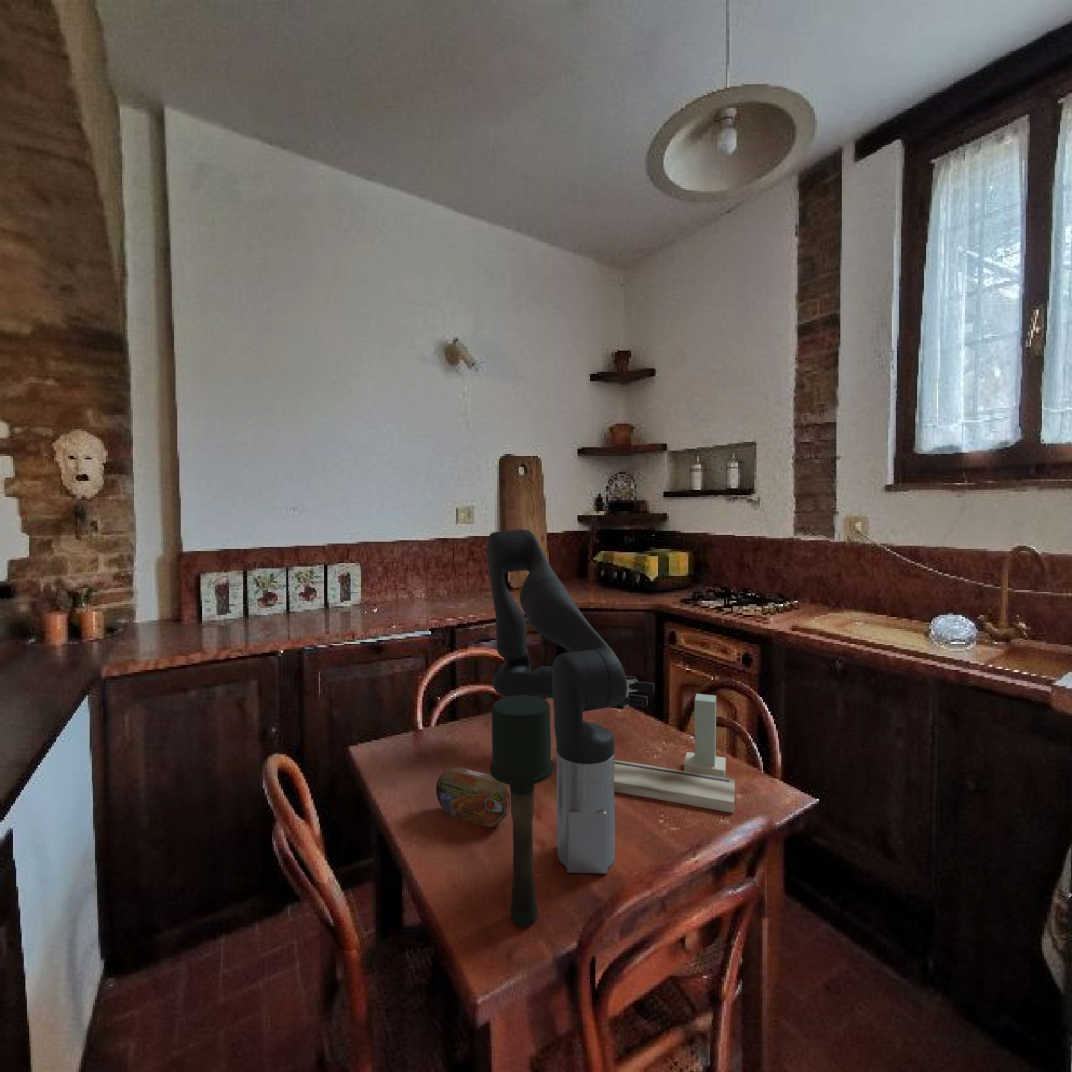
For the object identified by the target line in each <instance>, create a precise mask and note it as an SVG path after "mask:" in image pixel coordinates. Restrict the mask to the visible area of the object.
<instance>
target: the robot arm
mask: <svg viewBox="0 0 1072 1072" xmlns="http://www.w3.org/2000/svg"><path fill="white" fill-rule="evenodd" d="M486 558H487V566H488V567H487V568H488V573H489V574H488V575H489V582H490V588H491V596H492V599H493V606H494V607H493V608H494V613H495V615H494V616H495V624H496V625H495V628H496V629H495V630H496V631H495V632H496V634H495V635H496V650H497V651H496V652H497V653H498V655H499V656H500V657H501V658H502V659H503V665H502V666H501V667H500V668H499V670H498V671H497V672H496V673H495V674H494V677H493V678H492V686H493V687H492V688H493V689H494V691H495V692H496V693H497V694H498V695H499V696H500V697H502V698H505V697H509V696H515V695H529V696H536V697H540V698H545V699H546V698H547V699H552V700H553V701H552V702H553V704H552V705H553V723H554V726H553V727H554V735H555V741H556V742H555V743H556V744H555V745H556V746H555V747H556V750H555V751H556V752H555V753H556V830H557V831H556V833H557V835H556V836H557V837H556V839H557V840H556V841H557V857H558V860H559V861H560V863H561V864H562V865H563V866H565V868H566V872H567V873H573V874H607V873H608V868H610V866H612V865H613V864H614V861H615V858H616V857H615V856H616V855H615V854H616V848H615V847H616V842H615V841H616V840H615V838H616V835H615V831H616V830H615V829H616V828H615V827H616V826H615V825H616V824H615V821H616V818H615V792H614V760H615V738H614V735H613V733H612V732H611V731H610V730H609V729H608V728H607V727H604V726H603V725H601V724H597V723H593V722H590V721H585V720H584V717H583V712H588V711H589V712H590V711H595V710H596V711H597V710H601V709H606V708H607V709H608V708H611V709H617V710H624V709H625V707H629V706H631V707H638V708H640V707H641V708H647V707H648V705H649V703H648V702H649V699H648V698H649V697H648V696H646V695H641V694H640V695H639V694H632V693H633V692H638V693H645V694H653V693H655V683H653V682H647V681H639V680H638V679H637V676H635V675H633V676H632V675H626V673H625V672H626V671H625V669H624V667H623V665H622V662H621V661H620V659H619V658H618V656H617V655H616V653H615V652H614V651H613V649H612V648H611V647H610V646H609V645H608V643H607V642H606V641H605V640H604V639H603V638H602V637H601V635H600V634H599V633H598V632H597V631H596V629H594V628H593V626H592V625H591V624H590V623H589V621H588V620H587V618H586V617H585V616H584V614H583V613H582V612H581V610H580V609H579V607H578V606H577V604H576V602H575V601H574V599H573V598H572V596H571V594H570V592H568V590H567V587H566V586H565V585H564V584H563V582H562V581H561V579H559V577H558V576H557V573H556V572H555V571H554V570H553V568H552V567H551V565H550V563H549V561H548V559H547V557H546V555H545V553H544V550H543V549H542V547H541V545H540V543H539V540H538V539H537V537H536V536H535V534H534V533H533V532H532V531H530V530H529V529H523V528H522V529H521V528H520V529H512V530H500V531H499V530H498V531H494V532H491V533H490V534H489V535H488V537H487V541H486ZM523 571H525V572H528V574H527V576H526V577H525V580H524V581H523V584H522V585H521V590H520V593H519V602H520V606H521V607H520V606H519V604H518V603H517V602H516V600H515V599H514V597H513V596H512V594H511V593H510V591H509V589H508V587H507V584H506V579H505V573H512V572H523ZM524 614H525V615H524ZM526 618H527V620H528V622H529V624H530V626H531V627H532V628H533V629H534V630H535V631H536V632H537V633H538V634H540V635H541V636H543V637H544V638H545V639H547V640H548V641H550V642H552V643H554V644H556V645H558V646H559V647H561V648H563V649H564V650H567V651H568V652H564V653H560V654H558V655H557V656H555V659H554V661H553V664H552V666H547V665H546V666H540V667H538V668H536V669H534V670H533V671H532V665H531V659H530V655H529V651H528V648H527V647H528V646H527V645H528V644H527V642H528V638H527V636H528V634H527V632H528V631H527V628H528V627H527V620H526ZM629 693H630V694H629Z"/></svg>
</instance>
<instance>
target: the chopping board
mask: <svg viewBox="0 0 1072 1072" xmlns="http://www.w3.org/2000/svg"><path fill="white" fill-rule="evenodd" d="M735 791H736V778H730V777H726V776H725V777H719V776H713V775H707V774H700V773H694V772H688V771H684V770H680V769H675V768H669V767H663V766H662V767H661V766H654V765H648V764H643V763H636V762H630V761H625V760H619V759H618V760H617V759H614V793H621V794H625V795H626V794H627V795H632V796H637V797H643V798H648V799H649V798H650V799H654V800H661V801H666V802H669V803H676V804H681V805H688V806H692V807H698V808H704V809H710V810H716V811H721V812H724V813H725V812H727V813H731V814H734V813H735V798H736V797H735V796H736V795H735V794H736V792H735Z"/></svg>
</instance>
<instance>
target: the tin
mask: <svg viewBox="0 0 1072 1072" xmlns="http://www.w3.org/2000/svg"><path fill="white" fill-rule="evenodd" d="M435 793H436V799H437V801H438V803H439V806H440V807H441V809H442V810H443V811H444V812H445V813H446V814H447V815H449V816H450V817H452V818H456V819H459V820H461V821H465V822H468V823H471V824H475V825H477V826H481V827H484V828H489V829H490V828H495V827H497V826H498V825H499V824H501V822H502V821H504V820H505V818H506V817H507V816H508V814H509V812H510V810H511V795H510V793H509V789H508V787H507V786H506V784H505V783H502V782H499V781H497V780H496V779H495V778H493V777H492V775H491V774H487V773H483V772H480V771H476V770H471V769H468V768H465V767H460V766H459V767H458V766H457V767H453V768H450V769H449V770H446V771H444V772H442V774H440V775H439V776H438V779H437V781H436V787H435Z"/></svg>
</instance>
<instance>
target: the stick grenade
mask: <svg viewBox="0 0 1072 1072" xmlns="http://www.w3.org/2000/svg"><path fill="white" fill-rule="evenodd" d="M551 729H552V728H551V704H550V703H549V702H548V701H547V700H546V699H544V698H543V697H536V696H529V695H515V696H509V697H502V698H499V699H497V700H496V701H494V702H493V705H492V707H491V745H492V746H491V749H492V750H491V753H492V754H491V755H492V756H491V760H492V761H491V762H490V765H489V772H490V775H492V777H493V778H495V779H496V780H497V781H499V782H502V783H504V785H509V790H510V815H511V816H510V817H511V820H512V848H513V849H512V850H513V851H512V852H513V853H512V857H513V859H512V861H513V862H512V863H513V865H512V866H513V870H512V871H513V880H512V885H511V893H510V894H511V896H510V897H511V901H510V903H511V904H510V907H509V908H510V909H509V912H510V917H511V919H512V922H513V924H515V925H516V926H518V927H522V928H524V927H525V928H526V927H529V926H531V925H532V924H534V923H535V921H536V920H537V919H536V918H537V917H538V916H537V915H538V904H537V894H536V893H537V889H536V885H535V881H534V880H535V879H534V852H533V851H534V850H533V849H534V847H533V846H534V844H533V843H534V841H533V838H534V835H533V828H534V827H533V821H534V814H535V784H539V783H542V782H544V781H545V780H546V781H547V780H548V779H550V777H551V776H552V775H553V773H554V767H555V766H554V762H553V761H552V748H551V747H552V746H551V744H552V743H551V742H552V741H551V738H552V736H551V735H552V734H551V731H552V730H551Z"/></svg>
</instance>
